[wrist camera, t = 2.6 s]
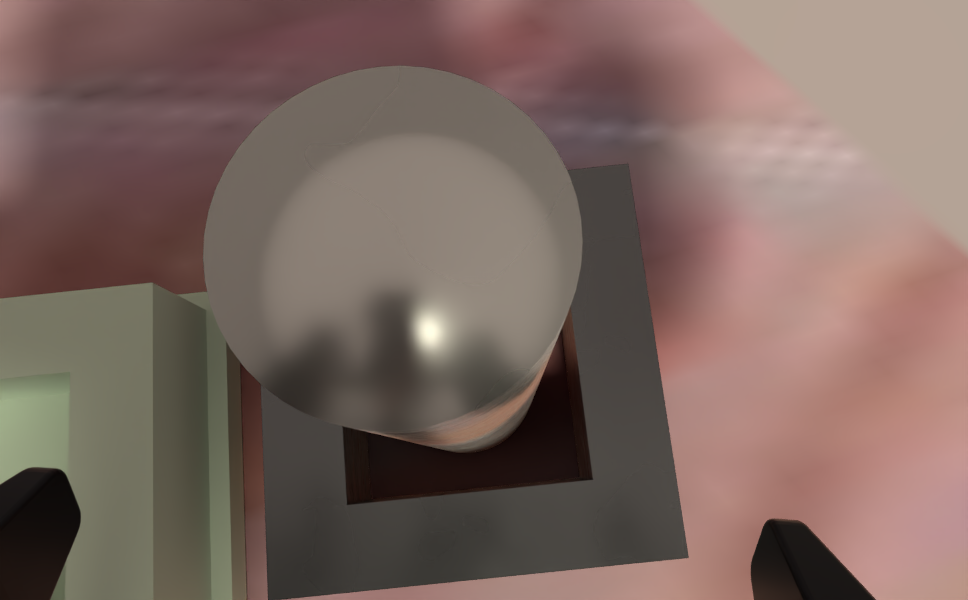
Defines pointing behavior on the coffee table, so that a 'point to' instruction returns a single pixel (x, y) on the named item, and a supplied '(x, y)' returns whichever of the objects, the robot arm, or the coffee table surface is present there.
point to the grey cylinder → (396, 256)
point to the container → (131, 437)
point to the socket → (508, 508)
